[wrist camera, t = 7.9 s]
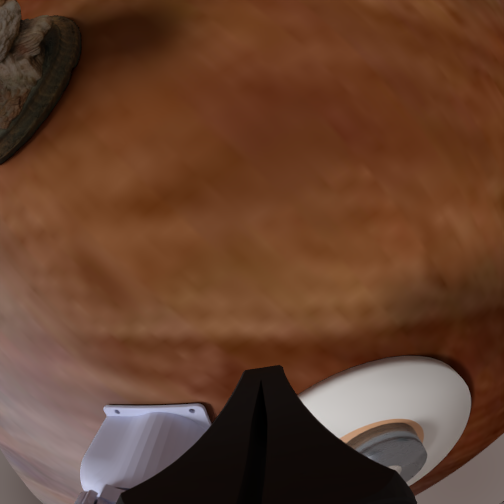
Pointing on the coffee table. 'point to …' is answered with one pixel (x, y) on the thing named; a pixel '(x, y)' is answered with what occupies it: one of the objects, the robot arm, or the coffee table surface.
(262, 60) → the coffee table surface
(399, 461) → the cast cover
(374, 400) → the turntable
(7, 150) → the owl figurine
